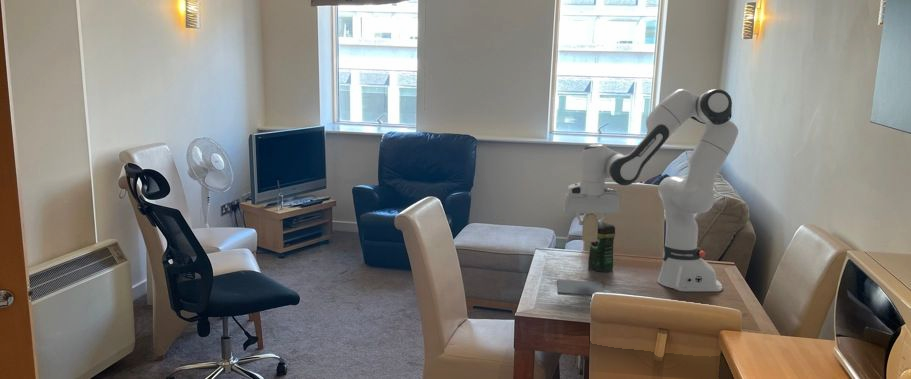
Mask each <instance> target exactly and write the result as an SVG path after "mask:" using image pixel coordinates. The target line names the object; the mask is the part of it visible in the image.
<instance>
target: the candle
mask: <svg viewBox="0 0 911 379" xmlns="http://www.w3.org/2000/svg"><path fill="white" fill-rule="evenodd" d="M582 219H583V225H582V230H581V231H582V233H581V241H582V242H586V243H591V242H596V241H597V232H598V220H599V217H598V216H597V215H596V214H590V213H585V215H584V216H583V217H582Z"/></svg>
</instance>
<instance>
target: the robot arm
mask: <svg viewBox="0 0 911 379" xmlns="http://www.w3.org/2000/svg"><path fill="white" fill-rule="evenodd" d="M732 100H733V99H732V96H731V95H730V94H729V93H728V92H727V91H726V90H723V89H720V88H712V89H710V90H707V91H705V92H704V93H702V94H700V95H695V94H693V93H692V91H690V90H688V89H685V88H679V89H676V90H675V91H673V92H672V93H671V94H669V95H668V96H666V97H665V98H664V99H663V100H662V101H661V102H659V103H658V104H657V105H656V106H655V107H654V108H653V109H652V111H651V112H650V113H649V115H648V116H647V117H646V121H645V125H646V134H645V136H644V138H643V139H642V140H641V141H640V142H639V143H638V144H637V146H636V147H635V148H633V150H632V151H631V152H630V153H628V154H623V153H620V152H618V151H615V150H613V149H611V148H609V147H607V146H606V145H605V144H604V143H592V144H589V145H586V146H585V147H584V148H583V150H582V153H581V161H580V169H581V170H580V171H581V176H580V180H579V182H576V183H573V184H569V185H568V186H567V192H566V193H565V196H564V200H563V212H564V213H567V214H575V215H576V217H577V219H578V225H579V226H580V225H581V226H583V218H581V217H580V216H581V214H594V215H596V214H597V215H601V218H600V219H598V226H602V222H604V220H605V219H606V217H607V215H618V214H620V200H621V199H622V198H621V197H622V193H621V191H620V190H618V189H617V188H605V187H606V186H605V185H606V179H609V178H610V179H611V180H613V181H614V183H616V184H618V185H620V186H629V185H632V184H633V183H635V182H637V180H638V178H640V175H641V172H642V170H643V169H644V167H645V165H646V164H647V163H648V162H649V161H650V160H651V159H652V158H653V156H654V155H655V154H656V153H657V152H658V151H659V149H661V148H662V146H663V145H664V143H666V141H667V140H668V139H669V138H670V137H671V136H672V135H673V134H674V133H675V132H676V131H677V130H678V129H679V128H680V127H681V126H682V125H684V123H685V122H686V121H687V120H688V119H692V120H694V121H696V122H698V123H700V124H703V125H704V124H705V130H704V133H703V134H702V136H701V138H700V139H699V141H698V142H697V144H696V146H695V147H694V149H693V150H692V152H691V154H690V156H689V157H688V164H689V166H688V167H689V168H688V172H687V175H686V177H682V176H666V177H665V178H663V179H662V180H661V181H660V183H659V185H658V188H657V192H658V195H659V197H660V199H661V202H662V205H663V210H664V217H665V241H664V242H665V243H664V244H663V248H662V265H661V269H660V272H659V275H658V278H657V283H658V284H660V285H662V286H664V287H667V288H671V289H674V290H676V291H678V292H721V291H723V285H722V283H721V282H720V280H718V279H717V274H716V270H715V269H714V268H713V267H712V265H710V264H709V263H708V262H707V261H706V260H704V259H703V258H705V256H706V255H707V254H706V252H705V251H704V250H703V249H701V248H700V247H699V246H698V237H699V227H698V226H699V225H698V223H697V220H696V219H695V216H694V214H705V213H707V212H709V211H710V210H711V209H712V207H713V205H714V202H715V194H714V186H715V181H716V178H717V175H718V173H719V171H720V170H721V168H722V166H723V164H724V163H725V161H726V159H727V157H728V156H729V155H730V153H731V150H733V149H732V148H733V146H735V143H736V139H737V138H738V135H739V128H738V126H737V125H736V124H735V123H734V122H732V120H731V118H732V117H733V115H732V113H733V112H732V111H733V109H732V108H733V102H732Z"/></svg>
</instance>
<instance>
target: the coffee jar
mask: <svg viewBox="0 0 911 379" xmlns="http://www.w3.org/2000/svg"><path fill="white" fill-rule="evenodd" d="M615 236H616V226H614V224H609V223H606V222H604V221H602V226H598V232H597V241H596V242H590V245H589V253H588V254H589V255H588V262H587V264H588V267H589V268H590V269H592V270H594V271H597V272H604V273H605V272H606V273H607V272H611V271H612V270H613V269H614V240H615Z"/></svg>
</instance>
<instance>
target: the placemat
mask: <svg viewBox="0 0 911 379" xmlns="http://www.w3.org/2000/svg"><path fill="white" fill-rule="evenodd" d="M556 281H557V283H556V284H557V294H558V295H571V296H572V295H573V296H584V295H587V296H588V297H593V296H592V294H593V293H595V292H604V293H605V290H604V286H603V282H601V281H586V280H585V281H584V280H569V279H568V280H567V279H557V280H556ZM587 296H586V297H587Z"/></svg>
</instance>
